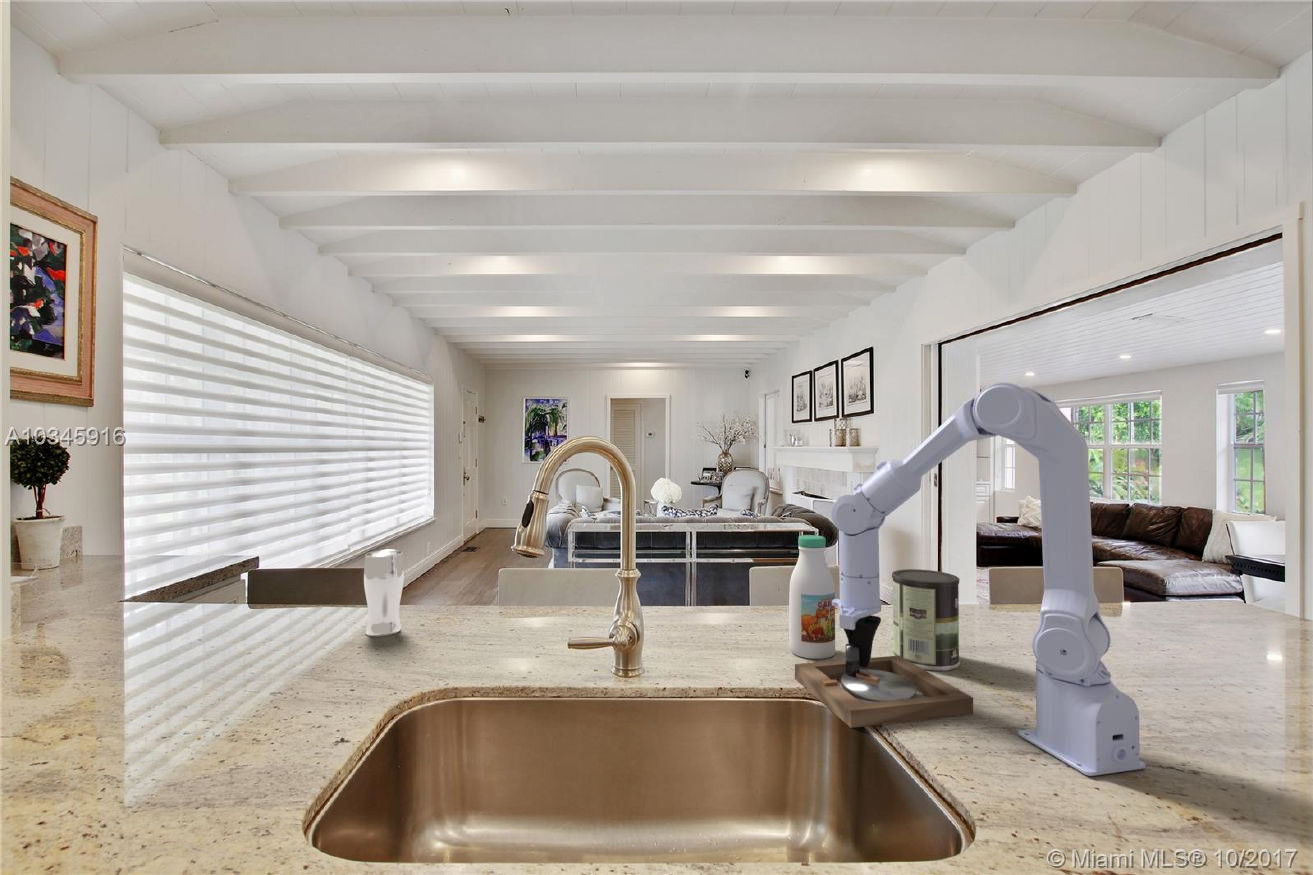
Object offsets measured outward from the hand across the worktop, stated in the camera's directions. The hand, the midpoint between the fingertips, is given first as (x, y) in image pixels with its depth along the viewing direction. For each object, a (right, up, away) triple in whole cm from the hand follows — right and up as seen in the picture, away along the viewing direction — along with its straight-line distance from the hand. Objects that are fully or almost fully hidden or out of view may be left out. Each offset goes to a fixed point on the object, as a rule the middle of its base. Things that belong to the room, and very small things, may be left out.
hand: (860, 665), depth 88 cm
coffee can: (+14, -3, +10) cm, 18 cm away
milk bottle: (-4, -3, +13) cm, 14 cm away
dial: (+1, -3, -4) cm, 5 cm away
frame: (+1, -3, -4) cm, 5 cm away
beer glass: (-83, -3, +24) cm, 86 cm away
